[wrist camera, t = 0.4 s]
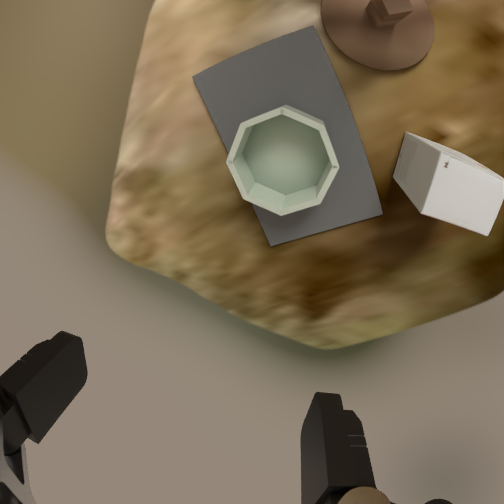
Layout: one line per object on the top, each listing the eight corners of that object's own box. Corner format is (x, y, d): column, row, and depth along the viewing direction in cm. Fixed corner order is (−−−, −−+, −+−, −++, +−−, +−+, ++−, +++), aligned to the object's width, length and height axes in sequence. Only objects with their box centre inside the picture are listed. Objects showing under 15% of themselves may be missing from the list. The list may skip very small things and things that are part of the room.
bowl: (227, 128, 31) (213, 135, 27) (312, 95, 28) (312, 96, 24) (262, 206, 35) (254, 224, 31) (344, 180, 32) (348, 195, 28)
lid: (302, -14, 22) (296, -41, 16) (402, -35, 18) (421, -61, 11) (348, 82, 27) (358, 80, 20) (446, 59, 23) (480, 55, 16)
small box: (391, 176, 31) (417, 214, 22) (404, 129, 28) (439, 149, 19) (449, 197, 30) (488, 239, 21) (464, 153, 27) (511, 183, 18)
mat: (193, 76, 29) (192, 76, 29) (313, 26, 24) (313, 25, 24) (271, 244, 38) (270, 246, 38) (382, 212, 33) (382, 214, 33)
